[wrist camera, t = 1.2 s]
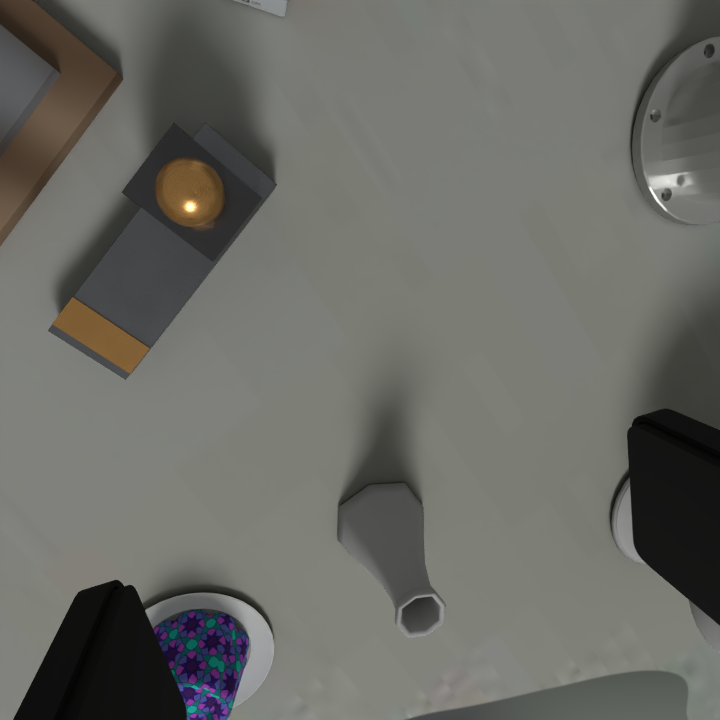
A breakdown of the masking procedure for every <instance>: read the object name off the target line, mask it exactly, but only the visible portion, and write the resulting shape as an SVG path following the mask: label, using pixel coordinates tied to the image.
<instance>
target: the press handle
mask: <svg viewBox="0 0 720 720" xmlns="http://www.w3.org/2000/svg"><path fill="white" fill-rule="evenodd" d="M122 193H123V194H124V195H126V196H127V197H128V198H130V199H131V200H132V201H133V202H135V203H136V204H137V205H139V206H140V207H141V208H143V209H144V210H145V211H147V212H148V213H149V214H150V215H152V216H153V217H154V218H156V219H157V220H158V221H160V222H161V223H162V224H164V225H165V226H166V227H167V228H169V229H170V230H171V231H173V232H174V233H175V234H177V235H178V236H179V237H181V238H182V239H183V240H184V241H186V242H187V243H188V244H190V245H191V246H192V247H194V248H195V249H196V250H197V251H199V252H200V253H201V254H203V255H204V256H205V257H207V258H208V259H209V260H211V261H212V262H214V261H216V260H217V259H219V258H220V257H221V256H222V254H223V253H224V252H225V250H226V249H227V248H228V247H229V245H230V244H231V243H232V241H233V240H234V239H235V238H236V236H237V235H238V234H239V232H240V231H241V230H242V229H243V227H244V226H245V225H246V223H247V222H248V221H249V220H250V218H251V217H252V216H253V214H254V213H255V212H256V210H257V209H258V208H259V207H260V205H261V203H262V197H261V196H259V195H258V194H257V193H256V192H255V191H254V190H252V189H251V188H250V187H249V186H248V185H247V184H245V183H244V182H243V181H242V180H241V179H239V178H238V177H237V176H236V175H235V174H234V173H232V172H231V171H230V170H229V169H228V168H226V167H225V166H224V165H223V164H222V163H221V162H219V161H218V160H217V159H216V158H215V157H214V156H212V155H211V154H210V153H209V152H208V151H206V150H205V149H204V148H203V147H202V146H201V145H199V144H198V143H197V142H196V141H195V140H193V139H192V138H191V137H190V136H189V135H188V134H186V133H185V132H184V131H183V130H182V129H181V128H179V127H178V126H177V125H176V124H175V123H173V125H172V126H171V127H170V129H169V130H168V131H167V133H166V134H165V135H164V137H163V138H162V139H161V141H160V142H159V143H158V145H157V146H156V147H155V149H154V150H153V151H152V153H151V154H150V155H149V157H148V158H147V159H146V161H145V162H144V163H143V165H142V166H141V167H140V168H139V170H138V171H137V172H136V174H135V175H134V176H133V178H132V179H131V180H130V182H129V183H128V184H127V186H126V187H125V188H124V190H123V191H122Z"/></svg>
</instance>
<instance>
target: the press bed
mask: <svg viewBox="0 0 720 720" xmlns="http://www.w3.org/2000/svg"><path fill="white" fill-rule="evenodd" d="M122 80H123V79H122V78H121V76H120V75H119V74H118V73H117V72H116V71H115V70H114V69H113V68H111V67H110V66H109V65H108V64H107V63H105V62H104V61H103V60H102V59H101V58H100V57H98V56H97V55H96V54H95V53H94V52H93V51H91V50H90V49H89V48H88V47H87V46H85V45H84V44H83V43H82V42H81V41H80V40H78V39H77V38H76V37H75V36H74V35H73V34H71V33H70V32H69V31H68V30H67V29H65V28H64V27H63V26H62V25H61V24H60V23H58V22H57V21H56V20H55V19H54V18H53V17H51V16H50V15H49V14H48V13H47V12H45V11H44V10H43V9H42V8H41V7H40V6H38V5H37V4H36V3H35V2H34V1H33V0H0V246H1V244H2V243H3V242H4V240H5V239H6V238H7V236H8V235H9V233H10V232H11V231H12V229H13V228H14V227H15V225H16V224H17V223H18V221H19V220H20V219H21V217H22V216H23V214H24V213H25V212H26V210H27V209H28V208H29V206H30V205H31V204H32V202H33V201H34V200H35V198H36V197H37V195H38V194H39V193H40V191H41V190H42V189H43V187H44V186H45V185H46V183H47V182H48V181H49V179H50V178H51V176H52V175H53V174H54V172H55V171H56V170H57V168H58V167H59V166H60V164H61V163H62V162H63V160H64V159H65V157H66V156H67V155H68V153H69V152H70V151H71V149H72V148H73V147H74V145H75V144H76V143H77V141H78V140H79V138H80V137H81V136H82V134H83V133H84V132H85V130H86V129H87V128H88V126H89V125H90V124H91V122H92V121H93V120H94V118H95V117H96V115H97V114H98V113H99V111H100V110H101V109H102V107H103V106H104V105H105V103H106V102H107V101H108V99H109V98H110V96H111V95H112V94H113V92H114V91H115V90H116V88H117V87H118V86H119V84H120V83H121V82H122Z"/></svg>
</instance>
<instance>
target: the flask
mask: <svg viewBox="0 0 720 720" xmlns="http://www.w3.org/2000/svg"><path fill="white" fill-rule="evenodd" d="M338 541H339V542H340V543H341V544H342V546H343V547H344V548H345V549H346V550H347V551H348V552H349V554H350V555H351V556H352V557H353V558H354V559H355V560H356V562H357V563H358V564H359V565H360V566H361V567H362V568H364V569H365V570H366V571H367V572H368V573H369V574H370V575H372V576H373V577H374V578H375V579H376V580H377V581H378V582H379V583H380V584H381V585H382V586H383V587H384V589H385V590H386V592H387V593H388V595H389V596H390V598H391V599H392V602H393V604H394V607H395V609H396V611H395V623H396V626H397V627H398V628H399V629H400V630H401V631H402V632H403V633H404V635H405V636H406V637H407V638H411V637H418V636H425V635H428V634H430V633H431V632H432V631H434V630H435V629H436V628H438V627H439V626H440V625H442V624H443V623H444V617H445V607H446V605H445V602H444V601H443V600H442V599H441V597H440V596H439V595H438V594H437V593H436V591H435V590H434V589H433V588H432V587H431V585H430V582H429V578H428V574H427V570H426V566H425V554H424V512H423V506H422V505H421V503H420V502H419V501H418V499H417V498H416V497H415V496H414V494H413V493H412V492H411V490H410V489H409V488H408V486H407V485H406V484H405V483H390V484H375V485H368V486H367V487H365V488H364V489H363V490H361V491H360V492H359V493H357V494H356V495H355V496H353V497H352V498H350V499H349V500H348V501H346V502H345V503H344V504H342V505H341V506H340V507H339V515H338Z"/></svg>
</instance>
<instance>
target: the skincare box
mask: <svg viewBox="0 0 720 720" xmlns="http://www.w3.org/2000/svg"><path fill="white" fill-rule="evenodd" d="M233 1H236V2H239V3H243V4H245V5H248V6H251V7H254V8H258V9H260V10H263V11H266V12H269V13H272V14H275V15H278V16H281V17H284V16H285V14H286V8H287V3H288V0H233Z"/></svg>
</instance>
